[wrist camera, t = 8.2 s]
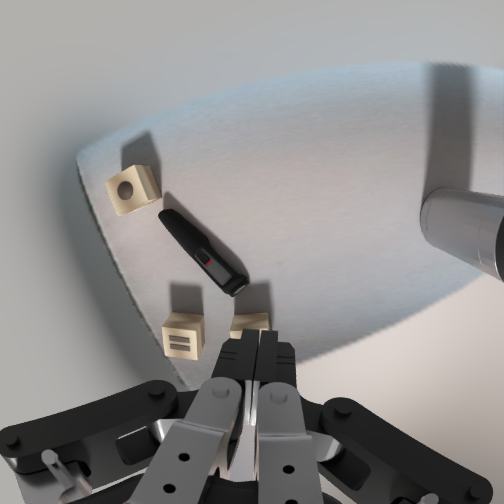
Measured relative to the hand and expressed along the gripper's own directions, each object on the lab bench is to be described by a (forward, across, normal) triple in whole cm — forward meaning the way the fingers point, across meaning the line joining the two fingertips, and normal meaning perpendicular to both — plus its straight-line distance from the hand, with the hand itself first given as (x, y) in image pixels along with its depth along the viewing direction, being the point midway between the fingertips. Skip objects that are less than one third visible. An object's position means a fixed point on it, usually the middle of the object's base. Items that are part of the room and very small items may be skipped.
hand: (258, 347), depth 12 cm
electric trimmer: (+28, +9, +3) cm, 29 cm away
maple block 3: (+28, +2, +15) cm, 31 cm away
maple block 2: (+27, +12, +16) cm, 34 cm away
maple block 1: (+27, +19, -6) cm, 34 cm away
